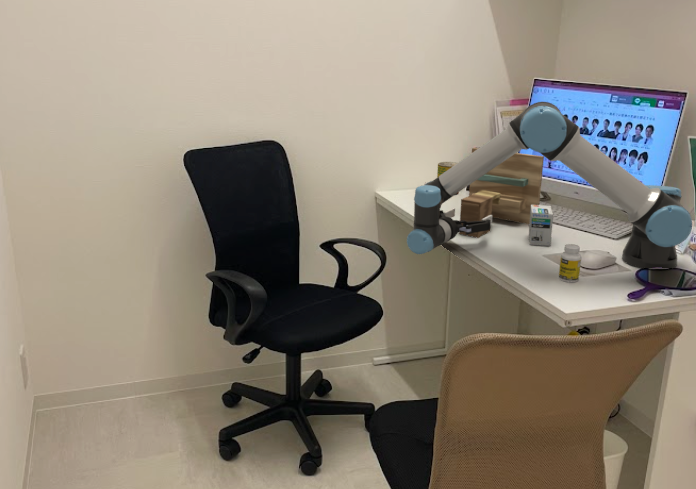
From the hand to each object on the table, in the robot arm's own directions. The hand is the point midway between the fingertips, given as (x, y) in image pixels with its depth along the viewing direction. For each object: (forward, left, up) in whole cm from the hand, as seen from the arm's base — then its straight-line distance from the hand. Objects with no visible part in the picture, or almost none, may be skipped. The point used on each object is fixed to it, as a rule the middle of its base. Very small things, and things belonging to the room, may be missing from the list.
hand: (472, 215), depth 233 cm
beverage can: (+54, +11, -7) cm, 55 cm away
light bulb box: (-3, -22, -7) cm, 23 cm away
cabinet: (+4, -3, -6) cm, 8 cm away
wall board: (+20, -10, -6) cm, 23 cm away
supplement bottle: (-37, -28, -7) cm, 47 cm away
